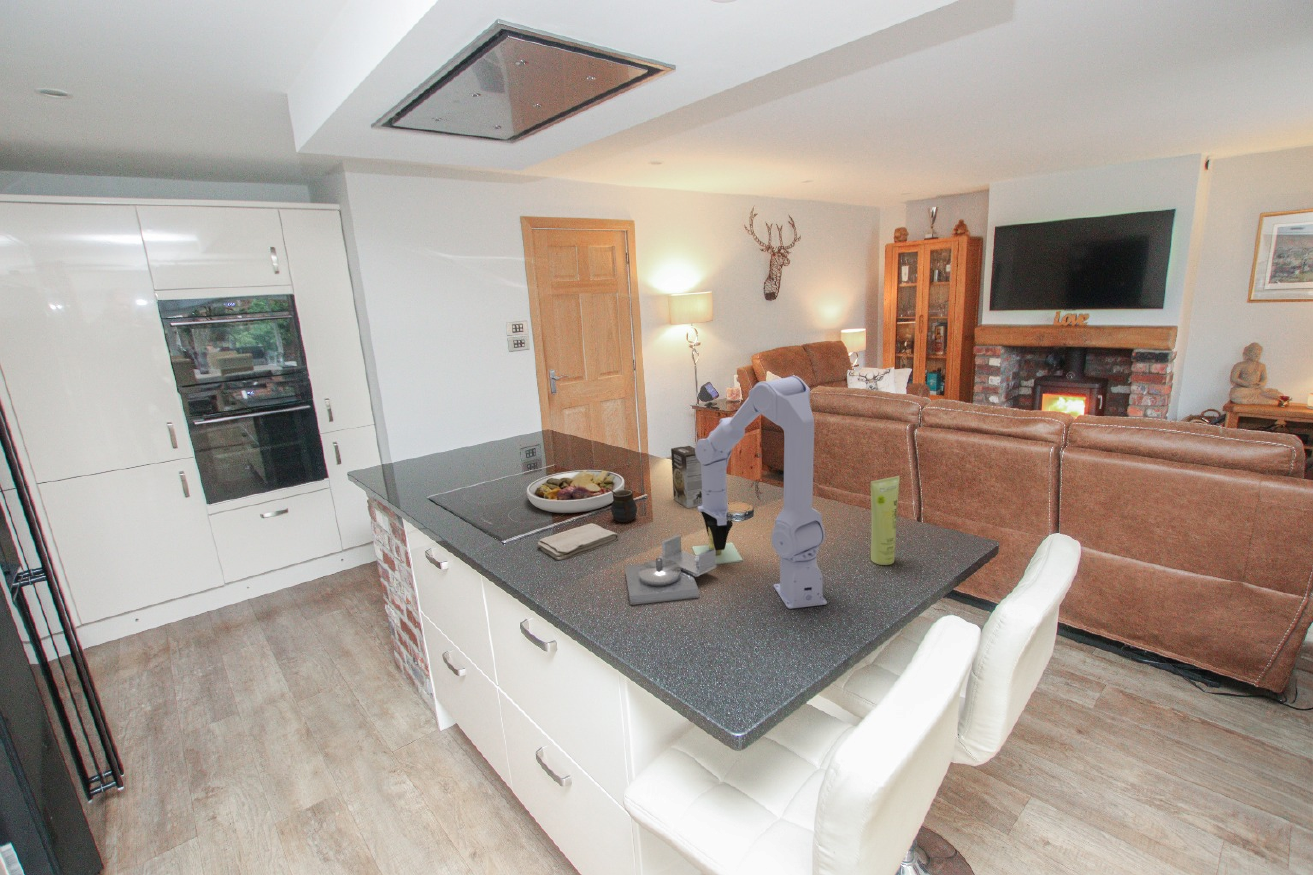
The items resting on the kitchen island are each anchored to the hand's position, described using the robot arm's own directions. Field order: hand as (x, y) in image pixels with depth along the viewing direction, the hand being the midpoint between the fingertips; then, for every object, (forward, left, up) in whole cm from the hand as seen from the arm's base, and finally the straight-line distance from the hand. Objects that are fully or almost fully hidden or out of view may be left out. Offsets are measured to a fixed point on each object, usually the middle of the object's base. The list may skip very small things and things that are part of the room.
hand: (716, 542), depth 141 cm
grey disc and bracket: (-10, +12, -1) cm, 16 cm away
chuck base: (-12, +15, -3) cm, 19 cm away
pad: (0, 0, -3) cm, 3 cm away
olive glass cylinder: (0, 0, -3) cm, 3 cm away
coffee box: (+37, 0, -3) cm, 37 cm away
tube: (-12, -35, -3) cm, 37 cm away
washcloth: (+15, +33, -4) cm, 36 cm away
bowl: (+50, +33, -4) cm, 60 cm away
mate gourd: (+28, +20, -3) cm, 35 cm away
